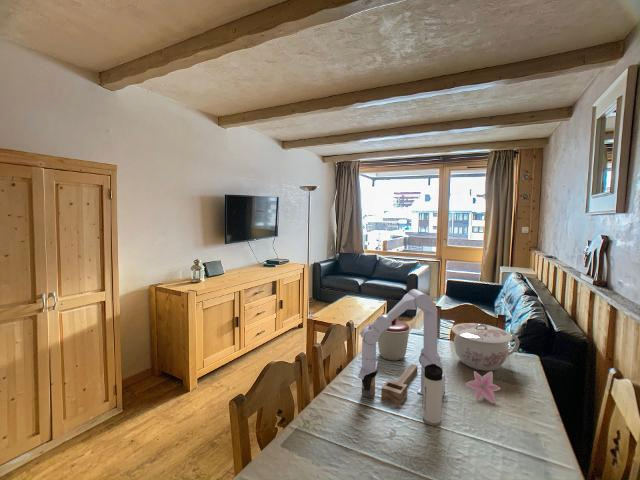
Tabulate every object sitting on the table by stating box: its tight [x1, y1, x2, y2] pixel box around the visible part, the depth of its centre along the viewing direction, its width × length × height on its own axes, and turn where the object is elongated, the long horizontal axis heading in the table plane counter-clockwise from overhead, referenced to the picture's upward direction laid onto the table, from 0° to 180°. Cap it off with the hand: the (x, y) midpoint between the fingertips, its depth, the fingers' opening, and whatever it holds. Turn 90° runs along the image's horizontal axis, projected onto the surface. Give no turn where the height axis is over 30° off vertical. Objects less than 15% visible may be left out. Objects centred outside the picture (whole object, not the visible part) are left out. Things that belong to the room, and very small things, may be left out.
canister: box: [377, 318, 412, 362], centre depth 172 cm, size 18×18×21 cm
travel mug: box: [422, 364, 444, 427], centre depth 118 cm, size 6×7×20 cm
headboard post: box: [381, 363, 418, 405], centre depth 143 cm, size 8×30×4 cm, turn 146°
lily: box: [464, 370, 501, 404], centre depth 135 cm, size 12×12×10 cm
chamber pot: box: [451, 322, 520, 372], centre depth 163 cm, size 28×28×21 cm
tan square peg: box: [361, 377, 376, 399], centre depth 134 cm, size 5×2×8 cm, turn 56°
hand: (368, 388), depth 134 cm, fingers closed on tan square peg, 2 cm apart
